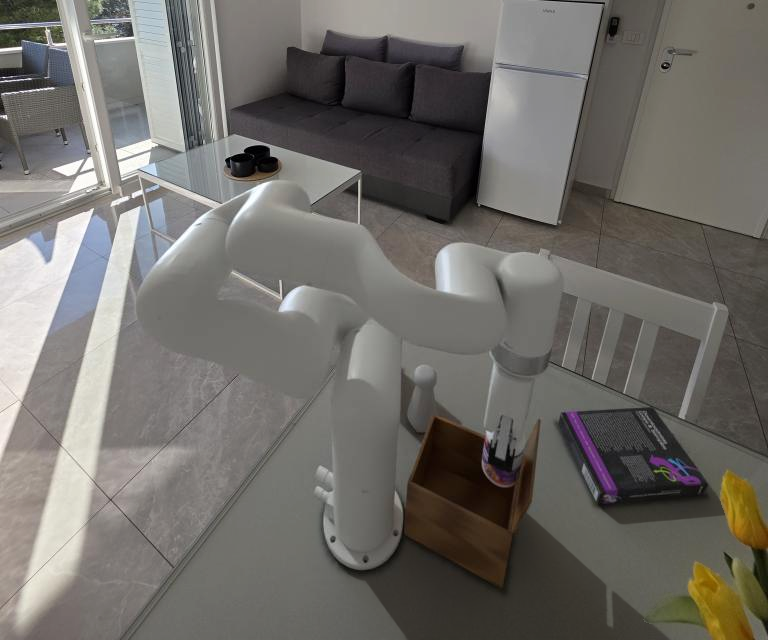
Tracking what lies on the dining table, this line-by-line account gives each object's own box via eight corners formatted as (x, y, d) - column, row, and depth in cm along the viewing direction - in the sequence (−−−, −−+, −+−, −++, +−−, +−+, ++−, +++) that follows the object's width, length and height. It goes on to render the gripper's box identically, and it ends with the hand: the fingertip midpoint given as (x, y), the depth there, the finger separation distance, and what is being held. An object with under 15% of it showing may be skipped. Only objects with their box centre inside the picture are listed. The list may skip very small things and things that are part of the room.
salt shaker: (403, 431, 81) (406, 379, 77) (411, 405, 87) (414, 355, 82) (433, 442, 80) (437, 389, 76) (439, 414, 85) (444, 363, 81)
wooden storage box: (514, 501, 71) (523, 452, 67) (502, 589, 60) (512, 536, 57) (428, 460, 77) (432, 413, 73) (403, 534, 66) (407, 483, 63)
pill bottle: (474, 455, 64) (481, 407, 61) (505, 445, 66) (513, 397, 63) (493, 494, 59) (502, 444, 56) (527, 482, 61) (536, 432, 58)
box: (595, 507, 71) (706, 497, 72) (599, 493, 70) (711, 483, 71) (557, 424, 84) (651, 417, 85) (559, 411, 83) (655, 404, 84)
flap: (523, 448, 67) (525, 450, 67) (511, 532, 57) (514, 533, 57) (538, 418, 64) (540, 419, 64) (528, 499, 54) (532, 501, 54)
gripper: (501, 295, 64) (488, 387, 70) (475, 387, 49) (462, 494, 55) (554, 311, 61) (536, 405, 67) (544, 414, 46) (522, 523, 52)
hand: (503, 444), depth 61 cm, fingers closed on pill bottle, 5 cm apart
